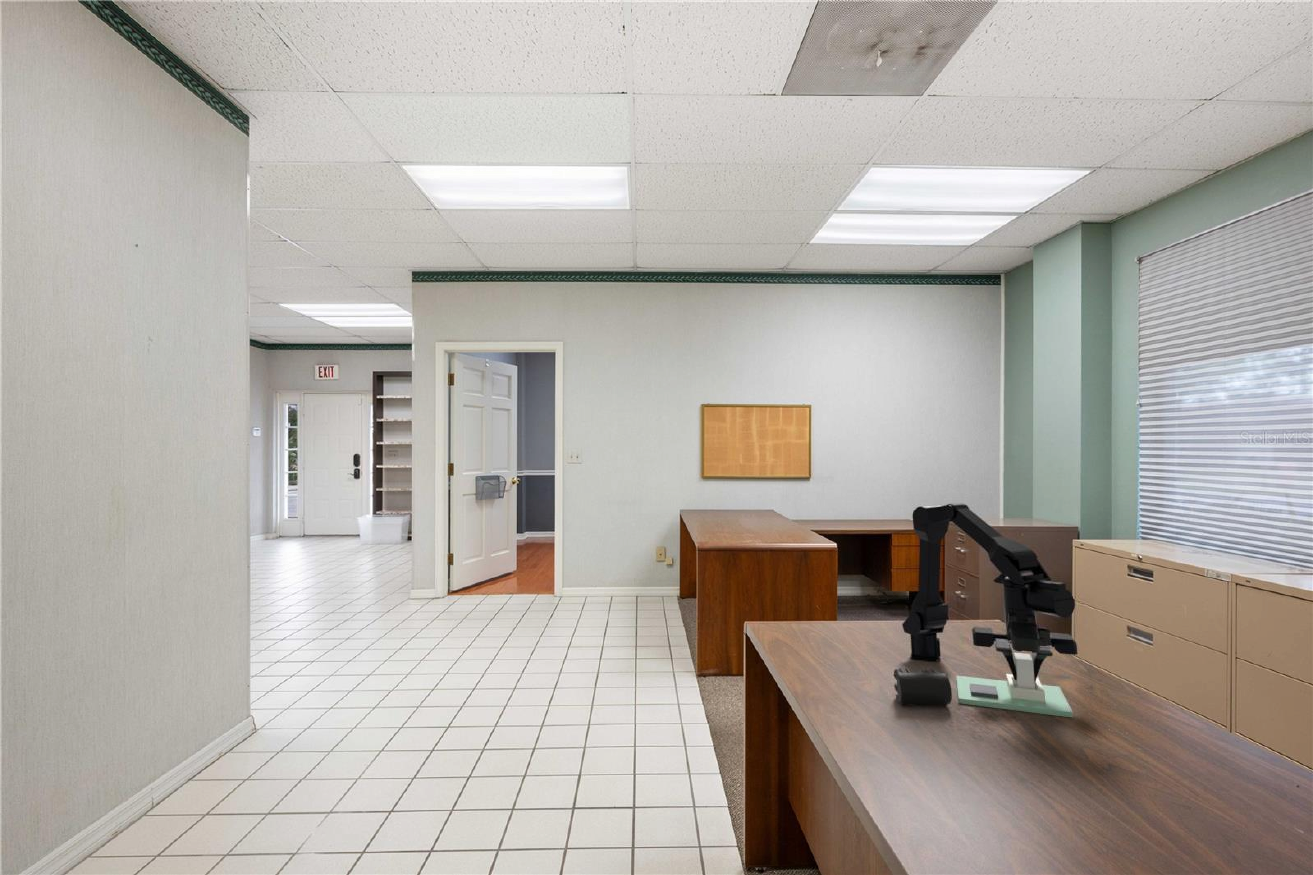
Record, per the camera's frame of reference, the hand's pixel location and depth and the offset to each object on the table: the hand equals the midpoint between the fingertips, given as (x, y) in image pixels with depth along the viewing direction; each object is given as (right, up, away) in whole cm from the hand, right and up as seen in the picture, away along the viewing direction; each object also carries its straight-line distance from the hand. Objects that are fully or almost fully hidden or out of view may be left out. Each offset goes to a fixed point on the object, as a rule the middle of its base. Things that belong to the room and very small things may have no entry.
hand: (1024, 680), depth 124 cm
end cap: (-23, -5, -1) cm, 23 cm away
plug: (0, -2, 0) cm, 2 cm away
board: (-3, -4, 0) cm, 5 cm away
